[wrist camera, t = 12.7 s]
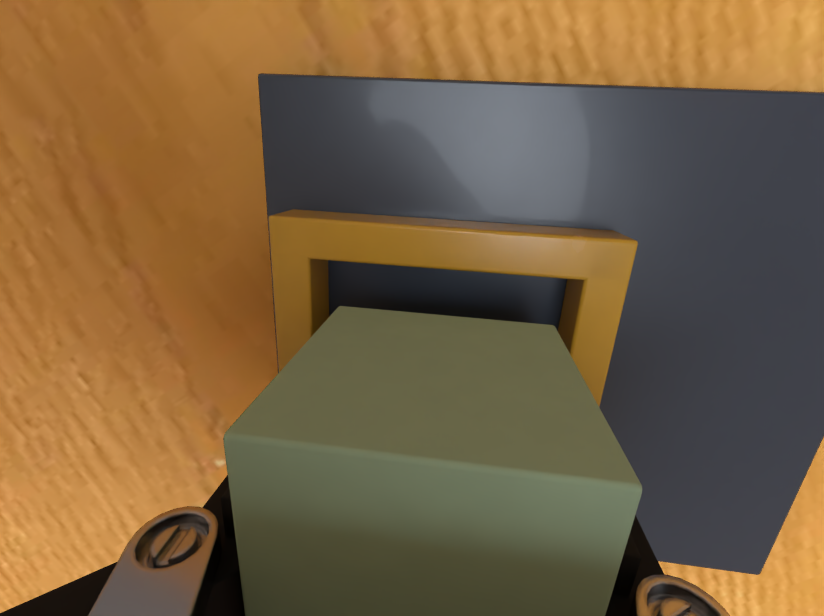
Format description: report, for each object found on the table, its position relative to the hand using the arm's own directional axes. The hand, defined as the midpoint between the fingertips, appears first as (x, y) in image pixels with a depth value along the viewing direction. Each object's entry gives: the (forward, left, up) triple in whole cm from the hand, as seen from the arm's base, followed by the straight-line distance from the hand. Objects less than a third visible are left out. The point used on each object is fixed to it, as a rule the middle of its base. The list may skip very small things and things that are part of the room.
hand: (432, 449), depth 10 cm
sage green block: (0, 0, 0) cm, 0 cm away
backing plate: (+3, +2, -4) cm, 5 cm away
